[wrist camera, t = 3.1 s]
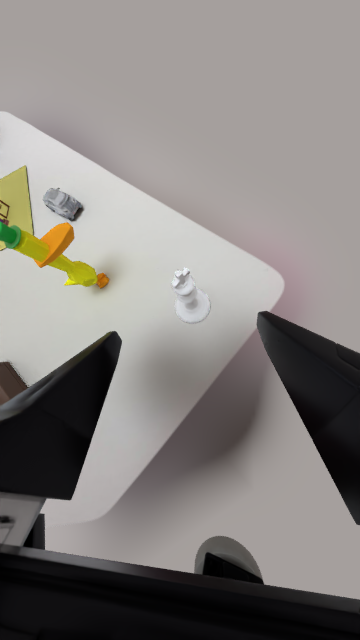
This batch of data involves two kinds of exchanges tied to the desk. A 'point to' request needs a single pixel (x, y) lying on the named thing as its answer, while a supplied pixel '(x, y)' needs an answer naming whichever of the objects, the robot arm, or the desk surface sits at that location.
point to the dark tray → (9, 383)
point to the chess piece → (189, 298)
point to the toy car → (61, 203)
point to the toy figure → (52, 252)
